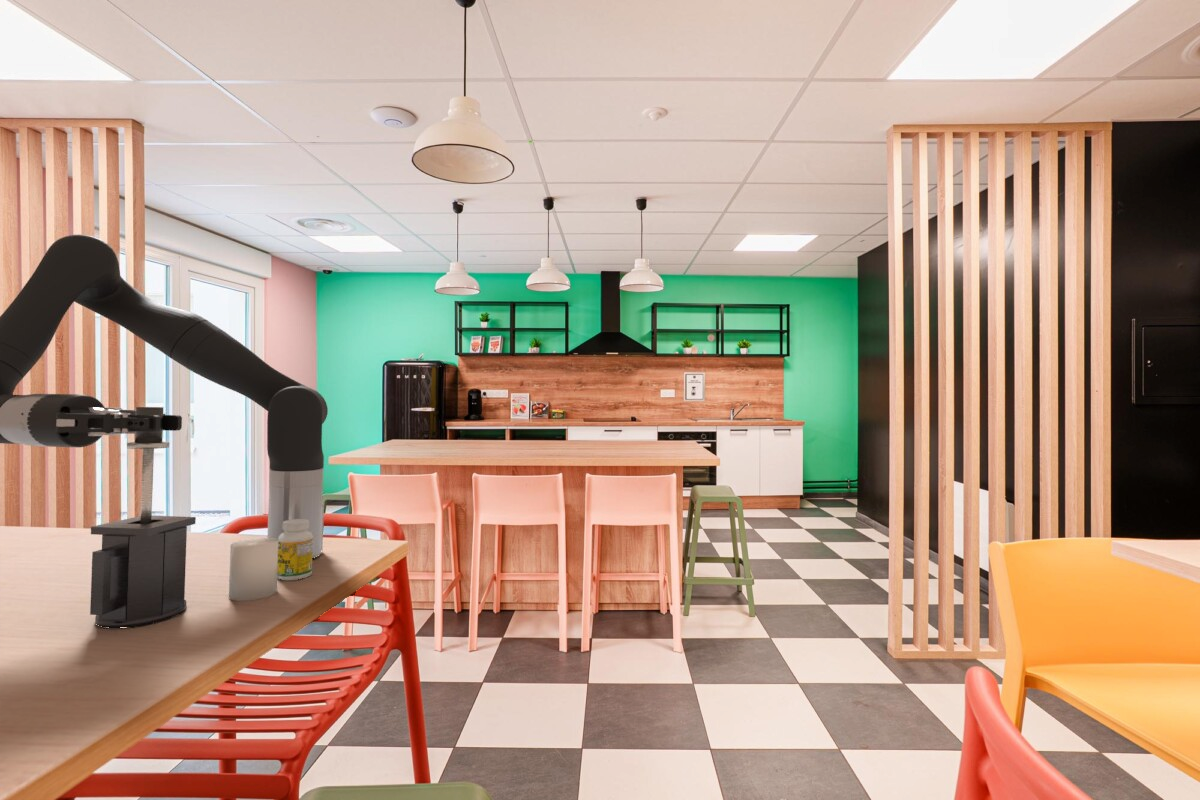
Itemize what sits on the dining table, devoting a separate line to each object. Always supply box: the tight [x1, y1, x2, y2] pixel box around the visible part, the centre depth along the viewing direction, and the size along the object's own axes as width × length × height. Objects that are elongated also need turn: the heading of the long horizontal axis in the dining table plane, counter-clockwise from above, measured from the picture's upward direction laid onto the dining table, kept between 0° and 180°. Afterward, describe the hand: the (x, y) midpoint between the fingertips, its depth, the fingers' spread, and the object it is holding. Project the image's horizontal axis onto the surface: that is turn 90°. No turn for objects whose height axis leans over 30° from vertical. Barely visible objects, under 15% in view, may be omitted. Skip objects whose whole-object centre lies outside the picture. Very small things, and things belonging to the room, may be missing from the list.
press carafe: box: [89, 515, 197, 628], centre depth 76 cm, size 12×10×13 cm
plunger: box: [126, 406, 170, 524], centre depth 77 cm, size 5×5×21 cm
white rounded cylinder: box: [228, 537, 278, 602], centre depth 86 cm, size 6×6×8 cm
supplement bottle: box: [277, 519, 313, 581], centre depth 95 cm, size 5×5×10 cm
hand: (168, 423), depth 77 cm, fingers closed on plunger, 3 cm apart
